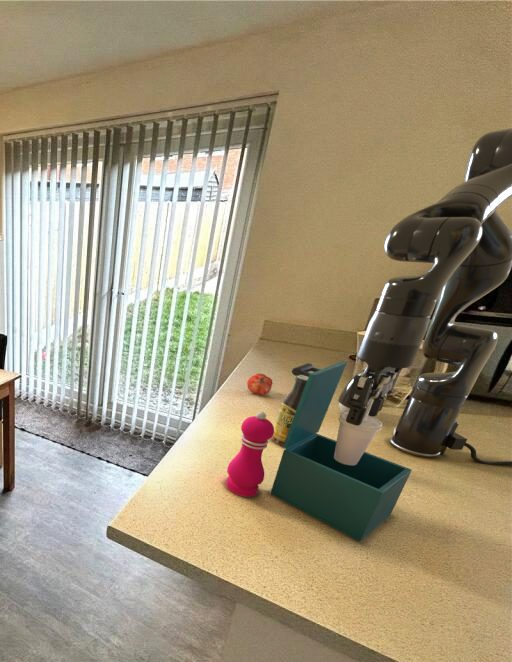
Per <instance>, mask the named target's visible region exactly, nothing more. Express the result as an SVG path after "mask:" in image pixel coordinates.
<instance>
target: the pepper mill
mask: <svg viewBox="0 0 512 662" xmlns="http://www.w3.org/2000/svg"><path fill="white" fill-rule="evenodd" d="M240 431H241V433H242V434H241V435H240V437H241V438H240V443H241V447H240V449H239V452H238V453H237V454H236V455H235V456H234V457H233V458H232V459H231V460H230V461H229V463H228V465H227V468H226V471H227V475H228V476H227V478H226V482H225V485H226V488H227V489H228V490H229V491H230V492H231V493H233V494H235V495H238V496H241V497H245V498H250V497H251V498H252V497H254V496H256V495H257V494H258V491H259V485H261V484H262V483H263V482H264V480H265V468H264V465H263V462H262V456H263V451H264V450H265V449H266V448H267V447H268V444H269V440H270V439H271V437H272V436H273V434H274V424H273V422H272V421H270V420H269V419H267V414H266V413H265V411H258V412H256V414H255V415H253V416H249V417H247V418H245V419H244V420H243V421H242V423H241V425H240Z"/></svg>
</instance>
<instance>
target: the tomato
mask: <svg viewBox="0 0 512 662" xmlns="http://www.w3.org/2000/svg"><path fill="white" fill-rule="evenodd" d="M246 385H247V389H248V391H249V392H250V393H252V394H255V395H262V396H263V395H264V396H265V395H266V394H268V393H269V392H270V391H271V390H272V386H273V379H272V378H271V377H269V376H267V375H266V374H264V373H260V372H259V373H254V374H252V376H250V377H248V379H247V381H246Z"/></svg>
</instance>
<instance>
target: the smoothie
mask: <svg viewBox="0 0 512 662" xmlns="http://www.w3.org/2000/svg"><path fill="white" fill-rule="evenodd" d="M373 401H374V400H373V399H372V401H371V403H370V405H369V407H368V408H367V411H366V413H365V416H364V418H363V421H362V423H361V424H360V425H358V426H356V425H353V424H350V423H347V422H346V418H347V415H348V413H349V412H344V413H343V412H342V413H340V415H339V417H338V421H339V424H338V425H339V426H338V431H337V436H336V437H337V438H336V441H337V442H336V448H335V454H334V459H335V460H336V461H338V462H340V463H342V464H346V465H356V464H357V463H358V461H359V460H360V458H361V456H362V455H363V453H364V452H366V450H367V449H368V447H369V445H370V443H372V440H373V439H374V438H375V436H376V434H377V432H379V431H381V430H382V426H383V422H382V421H381V420H380V419H378V418H377V417H375V416H374V417H372V416H369V415H368V414H369V411H370V409H371V406H372V403H373Z"/></svg>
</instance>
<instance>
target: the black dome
mask: <svg viewBox="0 0 512 662" xmlns="http://www.w3.org/2000/svg"><path fill="white" fill-rule="evenodd" d="M361 372H362V370H360V371H359V372H357V373H356V374H355V375H354V376H353V377H351V379H350V380H349V381H348V382H347V383H346V385H345V386H344V388H343V390H342V391H341V393H340V394H339V396H338V399H337V401H338V407H339V409H340V411H341V412H342V413H344V412H349V410H350V407H351V405H350V404H347V399H348V396H349V393H350V390H351V387H352V383H353V380H354V377H355V376H356V375H360V374H361ZM357 400H360V401H361V400H362V396H359V397H358V399H357ZM382 400H383V401H382V404H381V406H380V409H379V411H378V413H380V412H381V411H382V410H383V407H384V403H385V399H382Z"/></svg>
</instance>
